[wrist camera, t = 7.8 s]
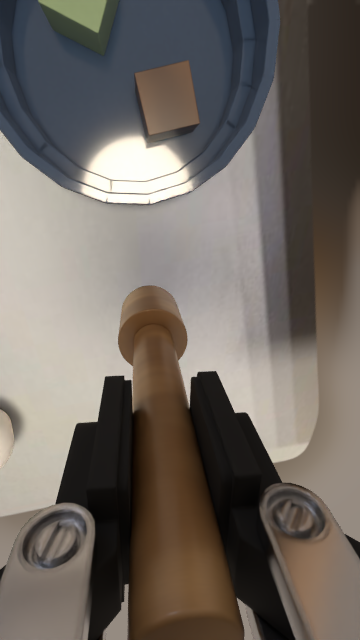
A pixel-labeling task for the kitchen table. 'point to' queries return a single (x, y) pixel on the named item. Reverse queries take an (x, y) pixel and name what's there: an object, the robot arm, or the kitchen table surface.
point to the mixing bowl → (120, 98)
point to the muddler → (170, 490)
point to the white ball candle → (5, 438)
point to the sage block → (82, 20)
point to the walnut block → (167, 101)
